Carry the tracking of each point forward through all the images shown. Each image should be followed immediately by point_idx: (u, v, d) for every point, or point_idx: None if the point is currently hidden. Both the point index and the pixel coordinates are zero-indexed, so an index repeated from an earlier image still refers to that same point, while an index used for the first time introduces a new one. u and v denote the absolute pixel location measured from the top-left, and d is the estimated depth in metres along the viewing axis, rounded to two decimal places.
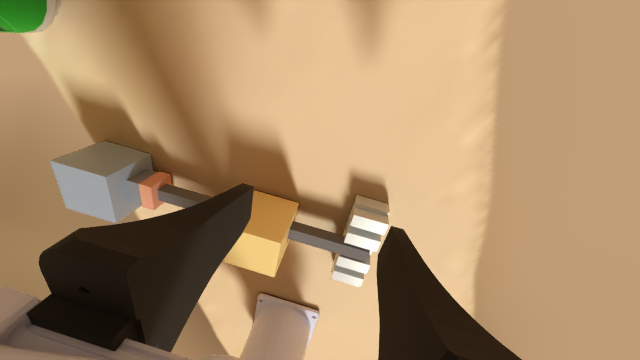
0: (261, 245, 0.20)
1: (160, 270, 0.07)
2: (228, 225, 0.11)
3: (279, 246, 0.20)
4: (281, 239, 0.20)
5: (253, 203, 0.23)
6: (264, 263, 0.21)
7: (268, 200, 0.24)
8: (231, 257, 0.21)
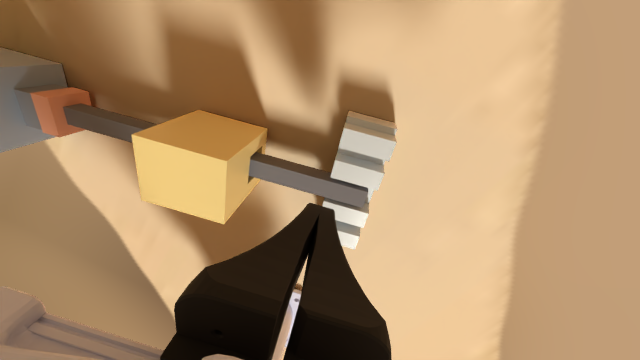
0: (197, 166, 0.13)
1: (282, 308, 0.07)
2: (306, 248, 0.11)
3: (225, 167, 0.13)
4: (229, 157, 0.13)
5: (198, 121, 0.16)
6: (206, 200, 0.14)
7: (222, 121, 0.17)
8: (158, 193, 0.14)
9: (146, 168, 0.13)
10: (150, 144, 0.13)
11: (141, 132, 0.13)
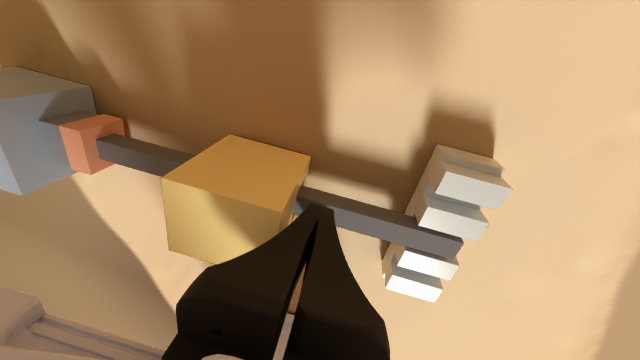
0: (242, 216, 0.10)
1: (284, 308, 0.07)
2: (307, 248, 0.11)
3: (278, 218, 0.10)
4: (282, 205, 0.10)
5: (233, 151, 0.13)
6: None
7: (260, 149, 0.14)
8: (190, 243, 0.12)
9: (177, 216, 0.11)
10: (185, 189, 0.10)
11: (171, 172, 0.11)
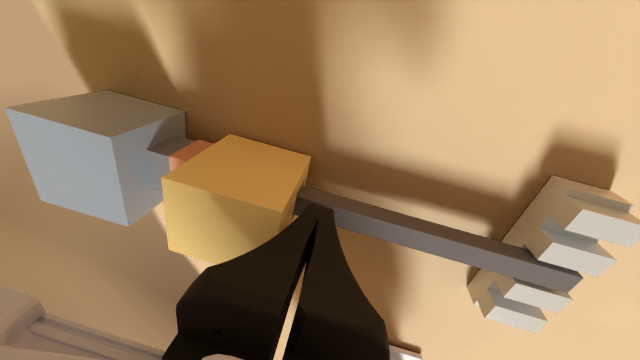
0: (242, 216, 0.10)
1: (284, 308, 0.07)
2: (307, 248, 0.11)
3: (278, 218, 0.10)
4: (282, 205, 0.10)
5: (233, 151, 0.13)
6: None
7: (260, 149, 0.14)
8: (190, 243, 0.12)
9: (177, 216, 0.11)
10: (185, 189, 0.10)
11: (172, 172, 0.11)
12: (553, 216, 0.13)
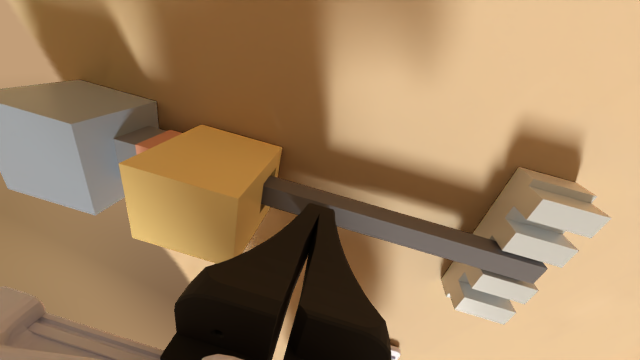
0: (201, 203, 0.10)
1: (282, 308, 0.07)
2: (306, 248, 0.11)
3: (236, 205, 0.10)
4: (241, 192, 0.10)
5: (201, 140, 0.13)
6: (211, 241, 0.11)
7: (229, 139, 0.14)
8: (152, 231, 0.12)
9: (137, 203, 0.11)
10: (142, 175, 0.10)
11: (131, 159, 0.11)
12: (517, 207, 0.13)
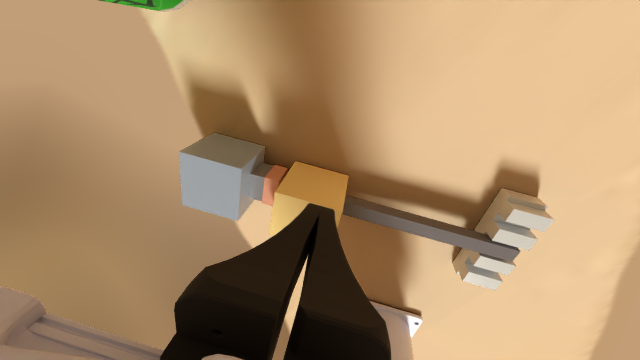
0: None
1: (282, 308, 0.07)
2: (306, 248, 0.11)
3: (340, 214, 0.18)
4: (342, 207, 0.18)
5: (303, 174, 0.21)
6: None
7: (317, 172, 0.22)
8: None
9: (279, 213, 0.19)
10: (287, 198, 0.18)
11: (278, 189, 0.19)
12: (500, 213, 0.21)
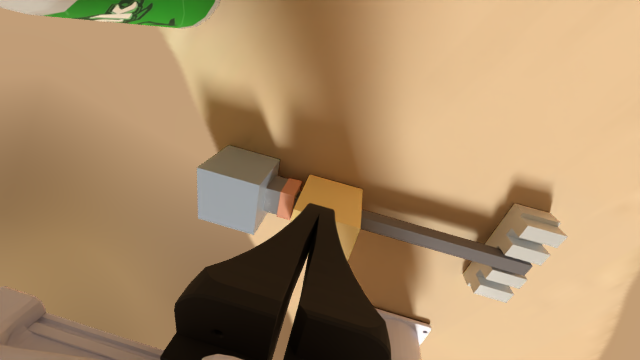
0: (337, 230, 0.19)
1: (282, 308, 0.07)
2: (306, 248, 0.11)
3: (358, 231, 0.18)
4: (359, 224, 0.19)
5: (318, 188, 0.22)
6: None
7: (332, 185, 0.23)
8: None
9: None
10: None
11: (296, 205, 0.19)
12: (513, 228, 0.21)
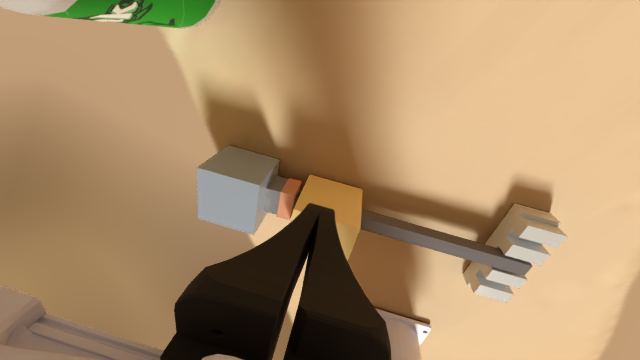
0: (337, 230, 0.19)
1: (282, 308, 0.07)
2: (306, 248, 0.11)
3: (358, 231, 0.18)
4: (359, 224, 0.19)
5: (318, 188, 0.22)
6: None
7: (332, 185, 0.23)
8: None
9: None
10: None
11: (296, 205, 0.19)
12: (513, 228, 0.21)
